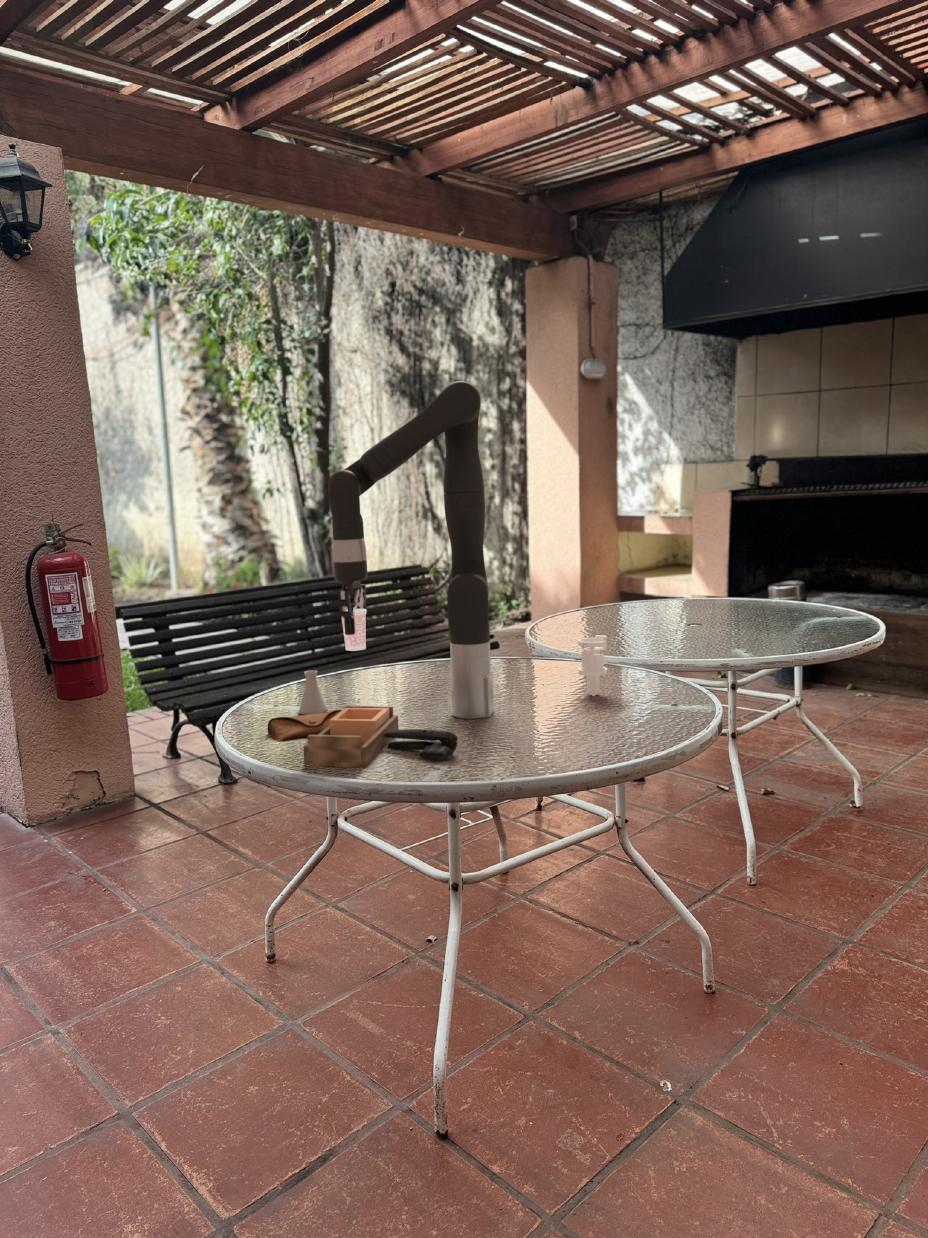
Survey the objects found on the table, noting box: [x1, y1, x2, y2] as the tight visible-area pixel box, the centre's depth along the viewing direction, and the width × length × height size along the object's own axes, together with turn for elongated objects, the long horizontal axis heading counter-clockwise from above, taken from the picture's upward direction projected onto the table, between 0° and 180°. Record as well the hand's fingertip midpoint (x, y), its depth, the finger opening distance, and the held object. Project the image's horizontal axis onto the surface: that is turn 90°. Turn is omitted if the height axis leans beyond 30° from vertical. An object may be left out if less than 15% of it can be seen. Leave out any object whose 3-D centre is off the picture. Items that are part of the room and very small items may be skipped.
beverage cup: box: [341, 608, 368, 652], centre depth 205 cm, size 6×6×14 cm
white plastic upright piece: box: [577, 634, 608, 692], centre depth 222 cm, size 7×7×15 cm
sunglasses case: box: [267, 709, 343, 743], centre depth 198 cm, size 18×7×7 cm
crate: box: [330, 707, 390, 744], centre depth 188 cm, size 10×10×5 cm
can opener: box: [385, 727, 459, 762], centre depth 179 cm, size 18×7×6 cm, turn 53°
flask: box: [297, 670, 329, 715], centre depth 215 cm, size 7×7×10 cm
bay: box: [303, 705, 399, 769], centre depth 183 cm, size 12×24×6 cm, turn 169°
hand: (354, 631), depth 205 cm, fingers closed on beverage cup, 6 cm apart
